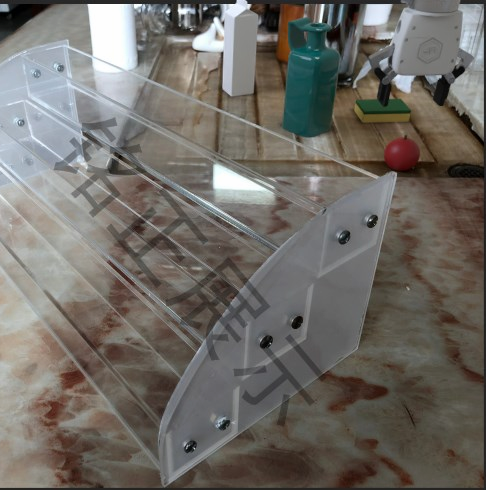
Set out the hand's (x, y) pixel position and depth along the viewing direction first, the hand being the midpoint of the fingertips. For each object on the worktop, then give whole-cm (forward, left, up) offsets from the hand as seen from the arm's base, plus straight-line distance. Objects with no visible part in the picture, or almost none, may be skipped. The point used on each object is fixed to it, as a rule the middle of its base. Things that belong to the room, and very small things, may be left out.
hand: (410, 103), depth 105 cm
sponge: (-4, -25, -13) cm, 28 cm away
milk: (+26, -43, -13) cm, 52 cm away
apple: (0, 0, -13) cm, 13 cm away
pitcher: (+14, -20, -13) cm, 27 cm away
